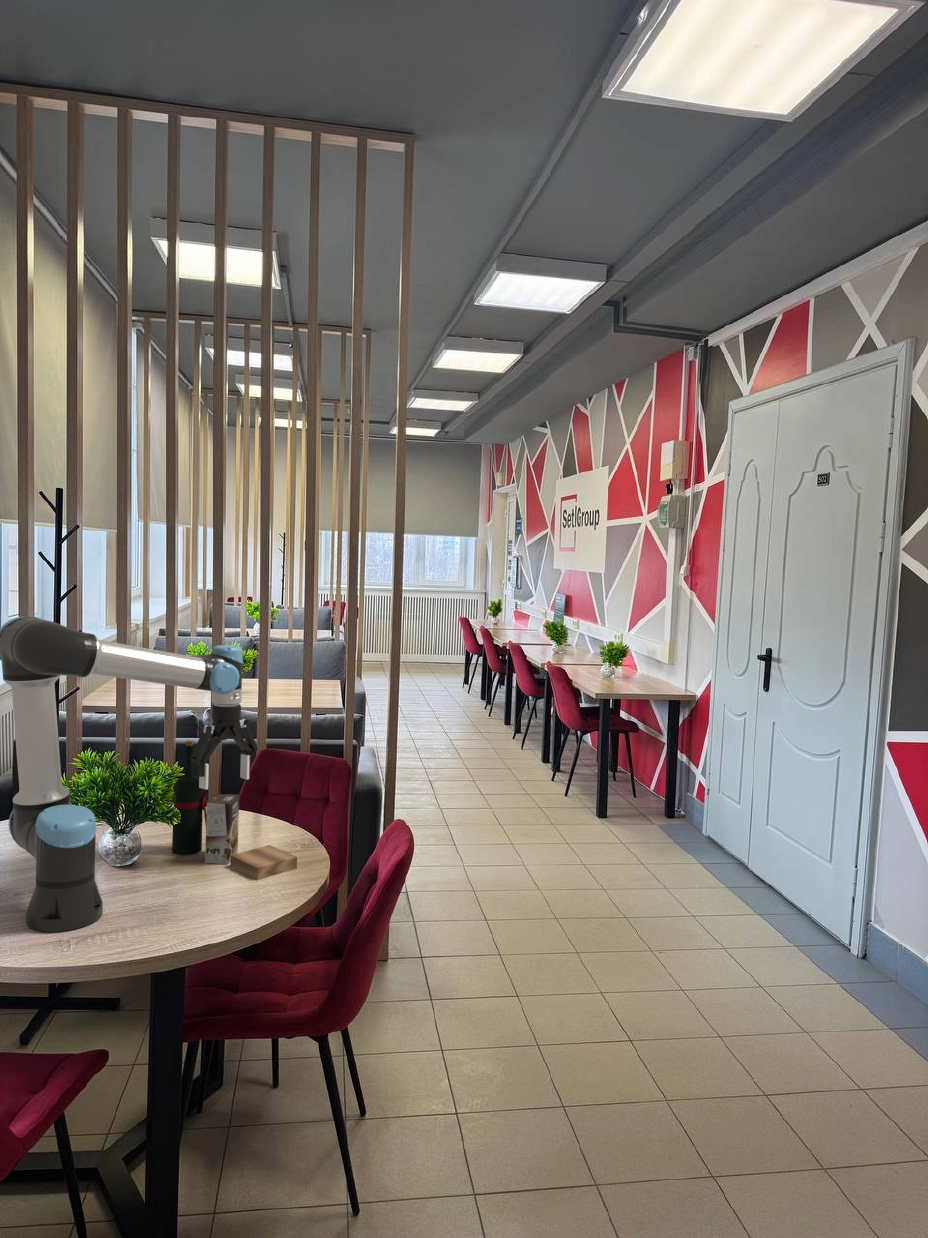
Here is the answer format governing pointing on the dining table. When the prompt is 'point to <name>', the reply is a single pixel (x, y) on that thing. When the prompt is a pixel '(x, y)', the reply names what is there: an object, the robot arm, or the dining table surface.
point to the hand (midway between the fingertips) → (224, 783)
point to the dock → (263, 862)
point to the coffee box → (222, 828)
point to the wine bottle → (188, 810)
